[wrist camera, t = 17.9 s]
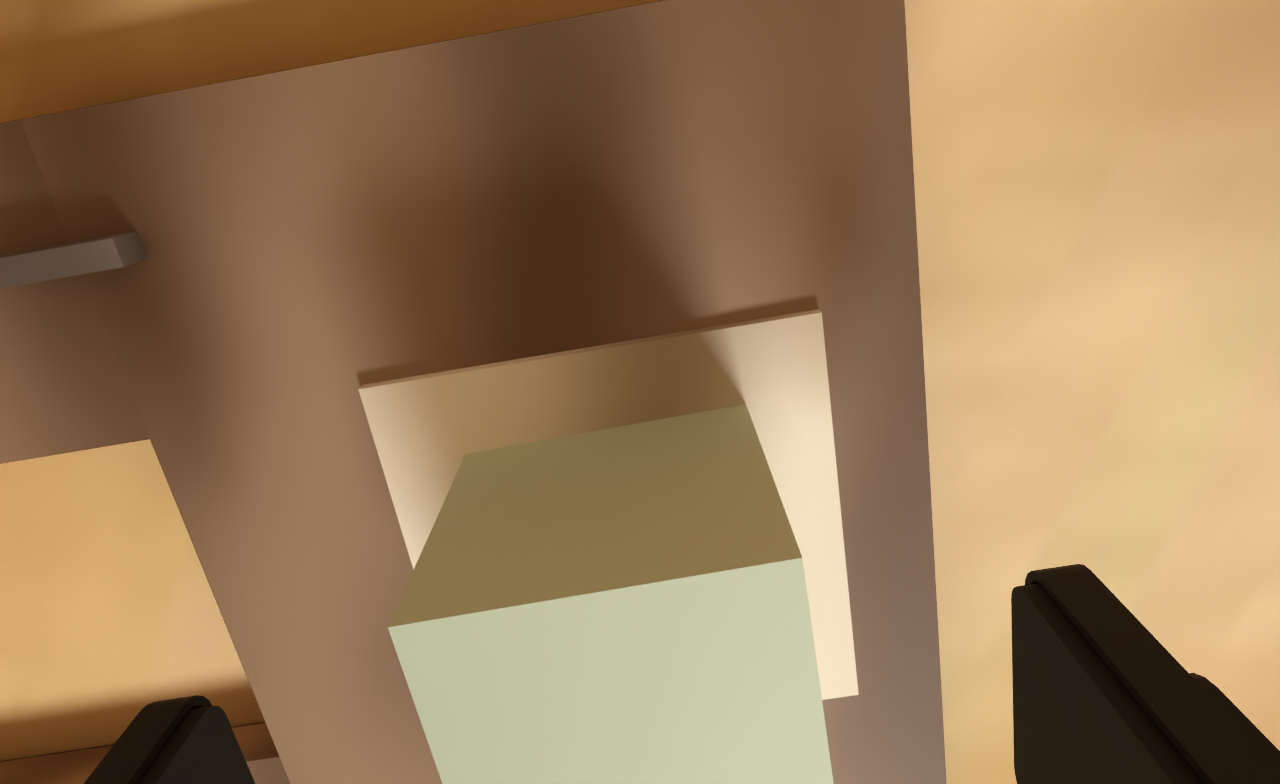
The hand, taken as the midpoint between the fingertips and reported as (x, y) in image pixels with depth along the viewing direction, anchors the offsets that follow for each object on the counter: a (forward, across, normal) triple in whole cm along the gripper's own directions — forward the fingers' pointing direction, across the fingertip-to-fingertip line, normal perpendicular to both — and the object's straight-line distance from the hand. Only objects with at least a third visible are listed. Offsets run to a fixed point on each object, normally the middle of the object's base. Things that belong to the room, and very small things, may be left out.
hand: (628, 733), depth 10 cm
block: (+4, 0, 0) cm, 4 cm away
